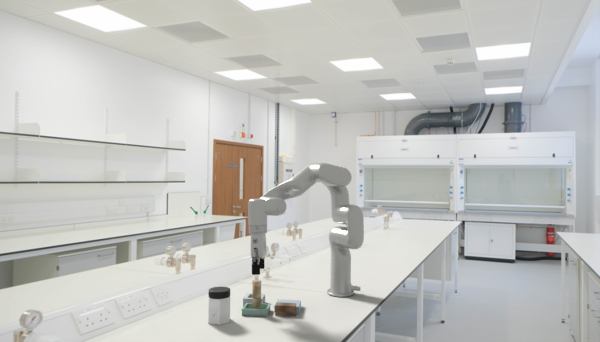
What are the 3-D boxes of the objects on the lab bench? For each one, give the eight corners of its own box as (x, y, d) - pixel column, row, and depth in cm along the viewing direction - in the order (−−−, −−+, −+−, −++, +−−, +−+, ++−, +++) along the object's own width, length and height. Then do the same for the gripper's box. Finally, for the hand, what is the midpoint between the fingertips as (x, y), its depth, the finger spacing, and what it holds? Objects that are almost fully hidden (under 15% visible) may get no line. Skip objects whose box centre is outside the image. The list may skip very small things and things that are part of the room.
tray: (270, 310, 169) (270, 303, 169) (266, 316, 161) (267, 310, 161) (246, 309, 170) (246, 302, 170) (241, 315, 162) (241, 309, 162)
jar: (202, 323, 153) (203, 290, 153) (213, 316, 161) (214, 285, 161) (224, 326, 150) (225, 293, 150) (234, 319, 158) (235, 287, 158)
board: (300, 307, 175) (300, 300, 175) (298, 314, 166) (299, 306, 166) (277, 306, 176) (277, 299, 176) (274, 313, 167) (274, 305, 167)
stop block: (296, 313, 166) (296, 303, 166) (295, 316, 162) (295, 306, 162) (276, 312, 166) (276, 302, 167) (275, 315, 163) (275, 305, 163)
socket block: (265, 302, 180) (265, 294, 180) (261, 307, 172) (261, 299, 172) (247, 301, 181) (247, 293, 181) (242, 306, 173) (243, 298, 173)
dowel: (261, 309, 167) (261, 280, 168) (259, 312, 164) (260, 282, 164) (253, 309, 168) (253, 279, 168) (251, 312, 164) (251, 282, 164)
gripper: (263, 232, 158) (263, 277, 158) (270, 226, 175) (270, 266, 175) (243, 232, 158) (244, 276, 158) (253, 226, 175) (253, 266, 175)
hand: (258, 271), depth 166 cm, fingers open, 9 cm apart
